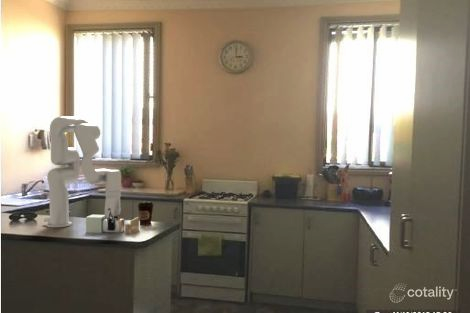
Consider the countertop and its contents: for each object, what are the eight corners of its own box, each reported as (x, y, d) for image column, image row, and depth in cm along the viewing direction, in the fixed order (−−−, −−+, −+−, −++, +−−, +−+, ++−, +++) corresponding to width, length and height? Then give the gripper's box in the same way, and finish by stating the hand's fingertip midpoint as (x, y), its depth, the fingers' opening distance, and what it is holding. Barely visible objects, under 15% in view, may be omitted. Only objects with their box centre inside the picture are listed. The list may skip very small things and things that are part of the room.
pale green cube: (86, 232, 214) (86, 217, 214) (92, 229, 221) (92, 214, 221) (101, 232, 213) (101, 217, 213) (107, 229, 220) (106, 214, 220)
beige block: (125, 234, 211) (125, 220, 211) (131, 230, 220) (131, 216, 220) (132, 234, 210) (132, 220, 210) (139, 230, 219) (138, 217, 219)
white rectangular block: (89, 231, 215) (89, 219, 215) (93, 229, 220) (93, 218, 220) (121, 232, 213) (121, 220, 213) (124, 230, 218) (124, 218, 218)
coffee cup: (149, 227, 228) (149, 203, 227) (135, 226, 229) (135, 202, 229) (155, 223, 236) (155, 200, 236) (141, 223, 238) (141, 200, 237)
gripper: (112, 191, 224) (113, 225, 225) (98, 196, 207) (99, 232, 208) (126, 192, 224) (126, 225, 224) (113, 196, 207) (113, 233, 207)
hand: (113, 228), depth 216 cm, fingers open, 5 cm apart
